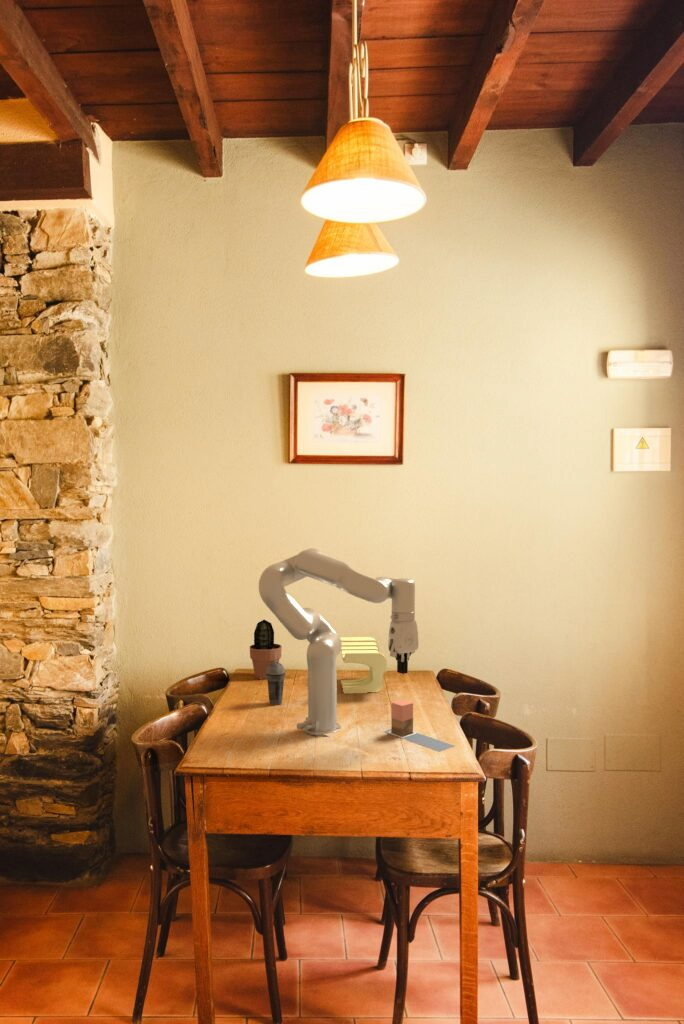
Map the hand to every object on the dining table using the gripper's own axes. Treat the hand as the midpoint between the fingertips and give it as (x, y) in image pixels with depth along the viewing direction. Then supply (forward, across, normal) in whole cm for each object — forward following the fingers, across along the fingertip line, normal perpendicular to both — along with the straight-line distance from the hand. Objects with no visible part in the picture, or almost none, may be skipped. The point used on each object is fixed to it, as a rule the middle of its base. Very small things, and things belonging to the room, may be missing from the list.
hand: (402, 672), depth 234 cm
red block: (+15, 0, 0) cm, 15 cm away
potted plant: (+21, +10, +89) cm, 92 cm away
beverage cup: (+21, -10, +55) cm, 60 cm away
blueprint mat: (+21, 0, -7) cm, 22 cm away
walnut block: (+20, 0, 0) cm, 20 cm away
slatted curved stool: (+21, +29, +49) cm, 61 cm away
